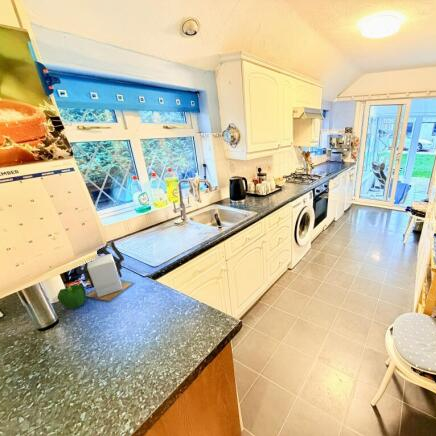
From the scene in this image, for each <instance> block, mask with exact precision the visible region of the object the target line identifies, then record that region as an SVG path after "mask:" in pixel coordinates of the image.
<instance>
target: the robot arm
mask: <svg viewBox="0 0 436 436" xmlns="http://www.w3.org/2000/svg"><path fill="white" fill-rule="evenodd" d="M108 247H109V248H110V249H111V250H112V251H113V252H114V253H115V255H116V256H117V257H118V258H117V257H116V256H115V255H114V254H112V252H110V251H109V250H107V248H108ZM97 254H98V255H97V256H102V255H108V254H112V256H113V259H114V262H115V265H116V268H117V271H118V274H119V278H122V277H123V275H122V272H121V270H123V266H122V262H124V261H125V257H124V256H123V254H122V253H121V252H120V250H119V249H118V248H117V247H116V245H115V242H114V241H111V242H107V244H106V246H105V247H103V248H101V249H99V250H98V251H97ZM85 263H86V262H85ZM85 263H84V266H83V265H82V266H79V267H77V266H76V273H77V274H78V275H81V274H83V276H84V279H85V281H89V284H90V286H91V287H92V288H93V287H94V285H93V282H92V279H91V277H90V274H89V271H88V269H87V263H86V264H85ZM82 267H83V269H82Z"/></svg>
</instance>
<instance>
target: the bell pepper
mask: <svg viewBox="0 0 436 436" xmlns="http://www.w3.org/2000/svg"><path fill="white" fill-rule="evenodd" d="M86 296H87V291H86V288H85V286H84V285H83V284H76V283H75V284H74V283H73V284H71V285H69V286H67V287H66V288H65V287H64V288H62V289H59V291H58V294H57V296H56V297H57V300H58V302H59V303H60V304H61V306H62V307H64V308H66V309H71V310H73V309H79V308H80V307H82V306H83V305H84V303H85V301H86V298H87V297H86Z"/></svg>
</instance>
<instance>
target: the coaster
mask: <svg viewBox="0 0 436 436" xmlns="http://www.w3.org/2000/svg"><path fill="white" fill-rule="evenodd" d="M121 285H122V289H121V290H118V291H115V292H112V293H110V294H107V295H104V296H101V297H98V296H97V293H96V290H95V289H94V290H93V291H92V292H90V293H88V294H86V298H91V299H96V300H102V301H106V302H110V301H111V300H112V299H114V298H115V297H117V296H118V295H119V294H121V293H122V292H123V291H125V290H126V289H127V288H129V287H130V286H132V283H131V282H125V281H121Z"/></svg>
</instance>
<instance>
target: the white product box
mask: <svg viewBox="0 0 436 436" xmlns="http://www.w3.org/2000/svg"><path fill="white" fill-rule="evenodd" d="M112 255H113V254H112V253H111V254H108V255H105V254H103V255H99V256H96V257H97V259H96V260H93V261H92V262H89V263H87V269H88V271H89V274H90V277H91V279H92V282H93V285H94V290H96V293H97V296H98V297H101V296H104V295H107V294H110V293H112V292H115V291H118V290H121V289H122V285H121V282H122V281H121V277H119V274H118V271H117V268H116V265H115V263H116V262H115V261H114V259H113V256H112Z"/></svg>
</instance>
